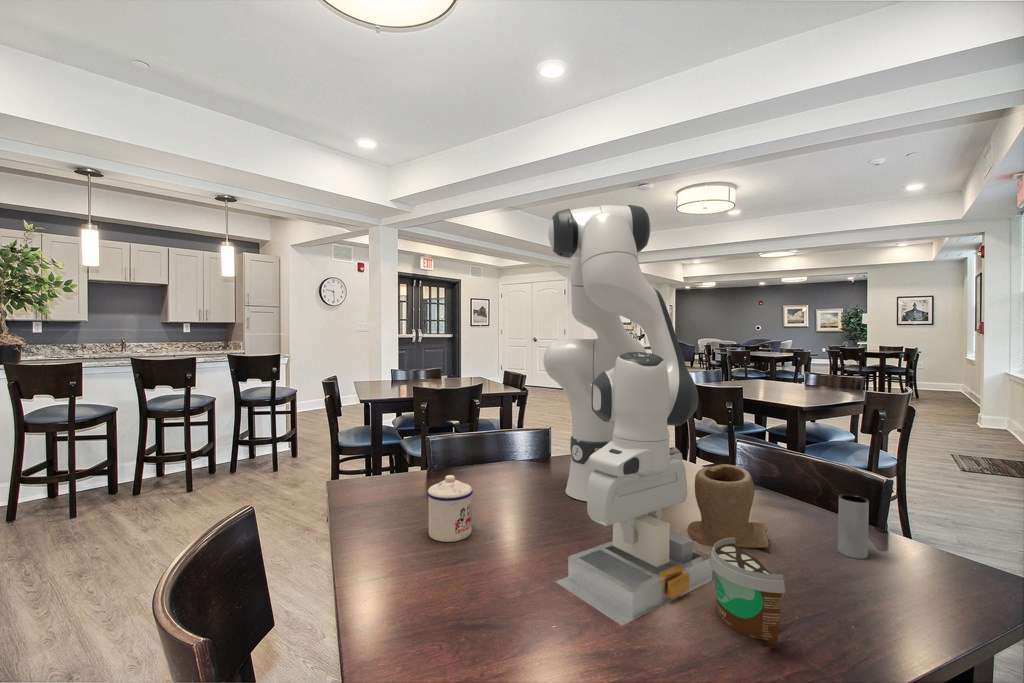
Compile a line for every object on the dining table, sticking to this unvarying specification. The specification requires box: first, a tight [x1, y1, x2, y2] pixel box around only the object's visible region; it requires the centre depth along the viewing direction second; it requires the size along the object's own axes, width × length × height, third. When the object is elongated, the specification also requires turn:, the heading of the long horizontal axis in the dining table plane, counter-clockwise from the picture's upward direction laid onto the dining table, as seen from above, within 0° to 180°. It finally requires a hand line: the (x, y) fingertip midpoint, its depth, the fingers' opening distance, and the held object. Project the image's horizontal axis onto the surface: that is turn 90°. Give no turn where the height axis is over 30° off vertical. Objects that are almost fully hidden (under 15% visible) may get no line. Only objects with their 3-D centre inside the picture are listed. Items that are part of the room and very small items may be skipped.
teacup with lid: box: [426, 474, 474, 543], centre depth 99 cm, size 12×9×12 cm
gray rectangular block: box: [669, 530, 694, 564], centre depth 82 cm, size 3×9×6 cm, turn 35°
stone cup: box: [687, 463, 770, 549], centre depth 93 cm, size 15×12×15 cm
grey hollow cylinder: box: [837, 493, 870, 560], centre depth 89 cm, size 4×4×10 cm
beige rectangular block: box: [612, 514, 671, 567], centre depth 78 cm, size 3×9×6 cm, turn 35°
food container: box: [709, 537, 786, 649], centre depth 67 cm, size 12×6×10 cm, turn 5°
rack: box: [555, 540, 715, 627], centre depth 78 cm, size 24×15×5 cm, turn 125°
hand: (640, 539), depth 78 cm, fingers closed on beige rectangular block, 3 cm apart
